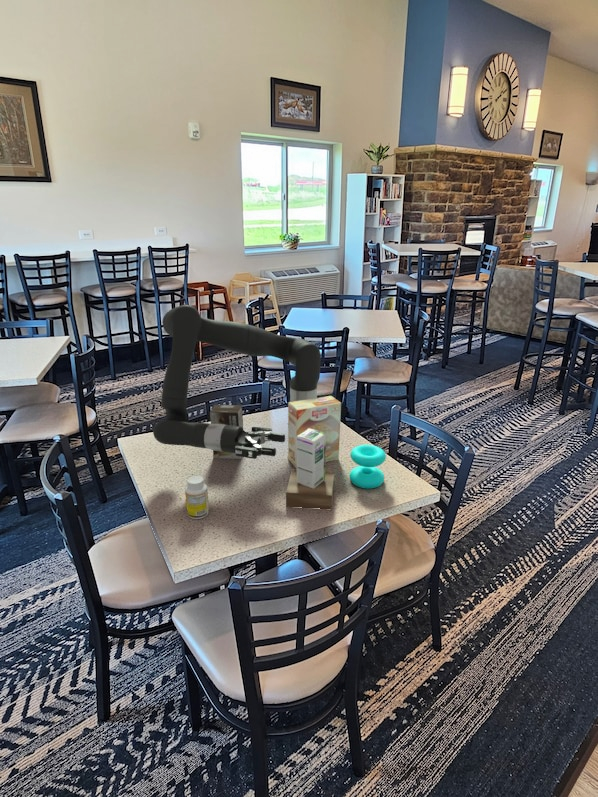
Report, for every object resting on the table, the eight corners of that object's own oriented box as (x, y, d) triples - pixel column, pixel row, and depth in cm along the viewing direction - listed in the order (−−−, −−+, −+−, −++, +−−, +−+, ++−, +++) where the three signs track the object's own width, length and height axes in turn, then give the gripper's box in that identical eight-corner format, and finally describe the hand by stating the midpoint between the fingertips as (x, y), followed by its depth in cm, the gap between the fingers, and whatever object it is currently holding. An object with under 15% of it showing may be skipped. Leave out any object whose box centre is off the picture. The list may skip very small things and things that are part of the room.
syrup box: (313, 489, 131) (315, 441, 125) (295, 482, 134) (295, 435, 128) (325, 479, 135) (327, 433, 130) (307, 473, 139) (308, 427, 133)
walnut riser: (292, 484, 143) (292, 469, 141) (333, 487, 142) (334, 472, 140) (286, 508, 132) (286, 492, 130) (331, 511, 130) (331, 495, 129)
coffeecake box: (296, 469, 151) (296, 409, 144) (287, 458, 157) (287, 401, 150) (339, 459, 156) (342, 402, 149) (329, 450, 162) (331, 394, 155)
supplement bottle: (194, 506, 132) (192, 472, 128) (213, 510, 130) (210, 476, 126) (182, 517, 127) (179, 482, 123) (201, 522, 125) (198, 487, 121)
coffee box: (244, 450, 162) (243, 404, 156) (240, 459, 156) (238, 412, 150) (217, 449, 163) (214, 403, 157) (212, 458, 157) (209, 411, 151)
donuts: (344, 452, 139) (361, 439, 147) (343, 483, 143) (359, 469, 151) (376, 462, 134) (392, 448, 142) (374, 494, 138) (389, 479, 145)
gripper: (213, 436, 129) (272, 443, 126) (233, 415, 142) (287, 422, 138) (214, 462, 132) (272, 470, 128) (234, 439, 145) (287, 446, 141)
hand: (280, 445), depth 133 cm, fingers open, 8 cm apart
